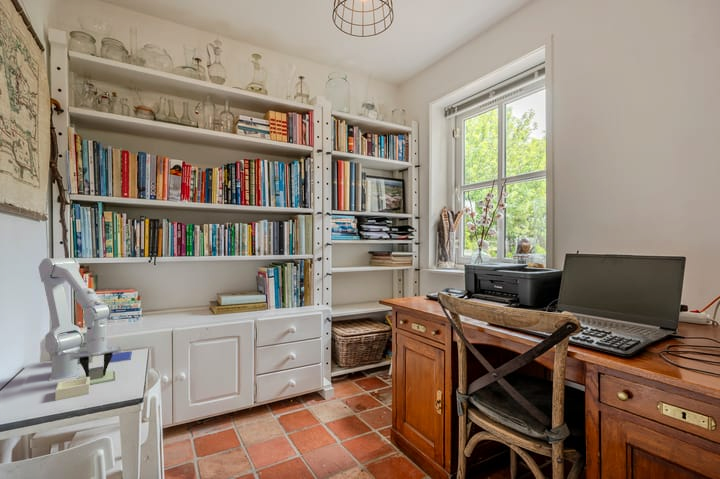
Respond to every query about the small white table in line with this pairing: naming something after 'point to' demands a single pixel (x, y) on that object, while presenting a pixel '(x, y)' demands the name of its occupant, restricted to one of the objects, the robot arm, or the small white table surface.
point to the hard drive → (121, 357)
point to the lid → (98, 375)
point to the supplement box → (83, 347)
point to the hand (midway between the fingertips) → (96, 376)
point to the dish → (72, 388)
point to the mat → (107, 381)
